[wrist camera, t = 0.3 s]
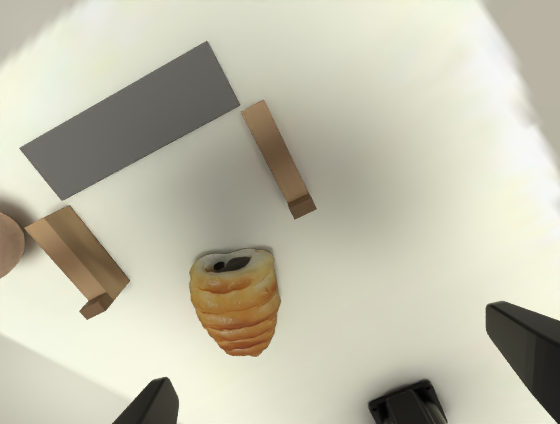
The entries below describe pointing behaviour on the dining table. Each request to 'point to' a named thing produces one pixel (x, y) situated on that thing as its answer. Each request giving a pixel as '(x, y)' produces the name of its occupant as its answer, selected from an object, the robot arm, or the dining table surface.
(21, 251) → the egg
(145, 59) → the dining table surface
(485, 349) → the dining table surface
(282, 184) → the wooden blocks
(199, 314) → the pastry
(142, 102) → the mat
